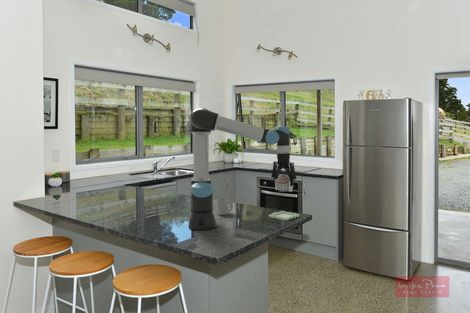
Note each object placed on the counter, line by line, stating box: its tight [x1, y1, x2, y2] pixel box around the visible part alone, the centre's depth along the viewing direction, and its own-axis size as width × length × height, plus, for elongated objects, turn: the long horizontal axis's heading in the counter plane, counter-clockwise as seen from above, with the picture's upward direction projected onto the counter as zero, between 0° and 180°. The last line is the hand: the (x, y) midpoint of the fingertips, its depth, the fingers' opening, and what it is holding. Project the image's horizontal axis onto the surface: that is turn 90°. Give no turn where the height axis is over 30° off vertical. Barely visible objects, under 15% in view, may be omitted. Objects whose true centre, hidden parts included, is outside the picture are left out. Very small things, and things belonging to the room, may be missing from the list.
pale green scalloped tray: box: [268, 210, 300, 222], centre depth 234 cm, size 13×14×2 cm
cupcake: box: [276, 173, 290, 193], centre depth 231 cm, size 9×9×10 cm
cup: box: [216, 198, 234, 216], centre depth 244 cm, size 7×10×9 cm
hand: (283, 190), depth 231 cm, fingers closed on cupcake, 9 cm apart
